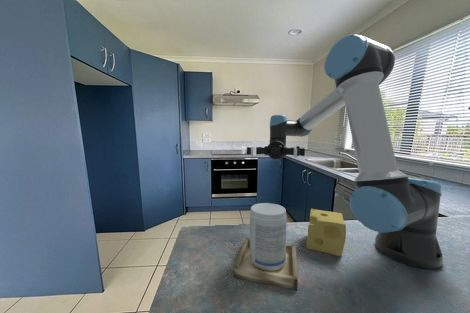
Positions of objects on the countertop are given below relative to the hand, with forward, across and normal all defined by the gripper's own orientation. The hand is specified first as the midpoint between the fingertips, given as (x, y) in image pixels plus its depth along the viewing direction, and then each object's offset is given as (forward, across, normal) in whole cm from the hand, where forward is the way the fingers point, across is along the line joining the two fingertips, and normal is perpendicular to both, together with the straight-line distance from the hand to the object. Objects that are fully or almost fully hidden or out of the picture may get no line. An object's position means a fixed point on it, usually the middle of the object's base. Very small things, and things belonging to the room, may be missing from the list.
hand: (273, 152), depth 61 cm
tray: (+11, 0, -30) cm, 32 cm away
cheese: (-4, -17, -30) cm, 35 cm away
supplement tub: (+11, 0, -29) cm, 31 cm away
